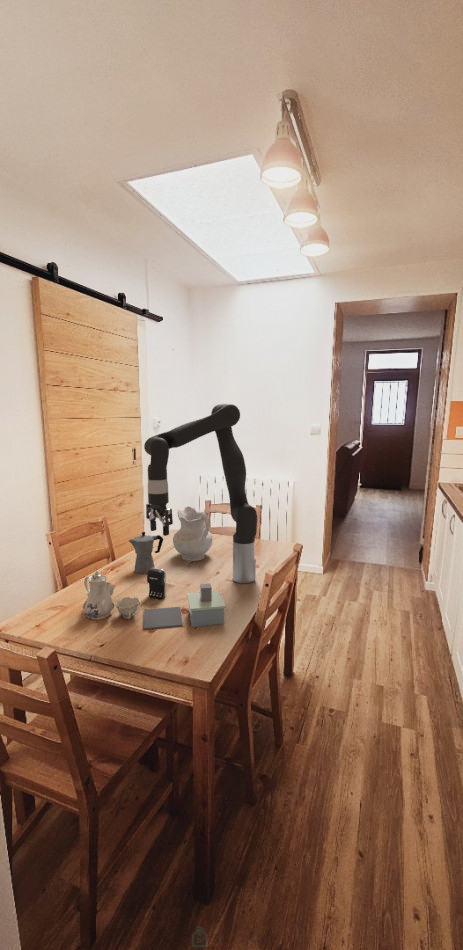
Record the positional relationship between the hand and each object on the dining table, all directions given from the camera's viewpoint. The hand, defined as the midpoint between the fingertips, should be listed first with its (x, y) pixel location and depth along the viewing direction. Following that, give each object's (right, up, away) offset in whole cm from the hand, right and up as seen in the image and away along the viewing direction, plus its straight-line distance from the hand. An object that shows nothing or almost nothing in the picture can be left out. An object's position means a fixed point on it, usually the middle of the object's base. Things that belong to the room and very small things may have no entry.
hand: (159, 532), depth 157 cm
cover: (+18, -22, -12) cm, 31 cm away
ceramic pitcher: (+9, -19, +47) cm, 52 cm away
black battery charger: (-2, -26, +4) cm, 26 cm away
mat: (+3, -28, -12) cm, 31 cm away
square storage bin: (+18, -28, -11) cm, 35 cm away
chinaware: (-18, -28, -7) cm, 34 cm away
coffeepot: (-11, -21, +32) cm, 40 cm away
